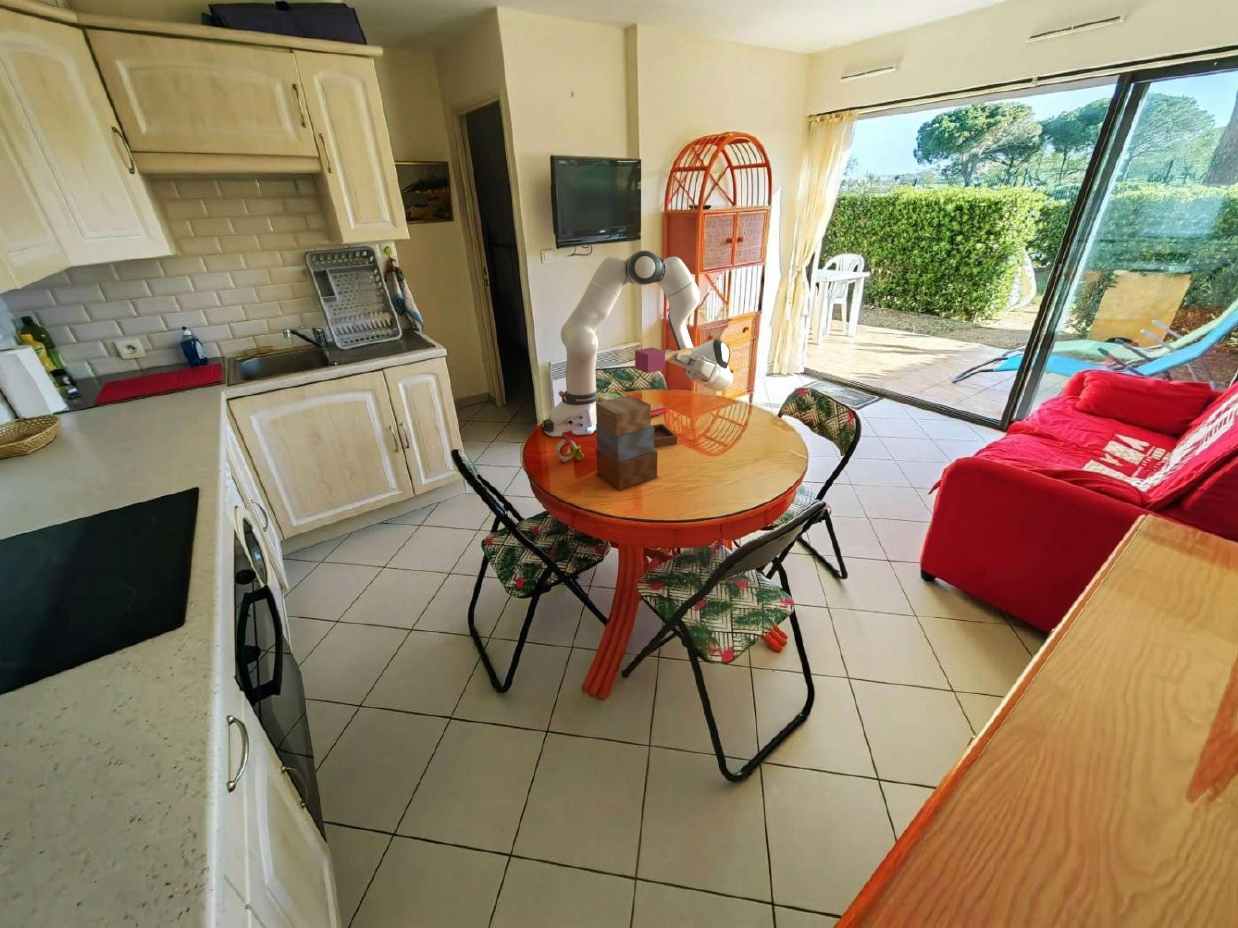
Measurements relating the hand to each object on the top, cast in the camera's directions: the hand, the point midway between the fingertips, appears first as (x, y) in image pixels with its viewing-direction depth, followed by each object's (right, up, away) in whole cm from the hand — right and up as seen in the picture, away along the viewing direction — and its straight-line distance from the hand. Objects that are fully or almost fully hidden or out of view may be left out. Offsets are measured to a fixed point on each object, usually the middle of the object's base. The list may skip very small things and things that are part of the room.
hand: (672, 354), depth 170 cm
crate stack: (-15, -40, -10) cm, 44 cm away
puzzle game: (-19, -13, +45) cm, 51 cm away
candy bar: (-5, -18, +36) cm, 40 cm away
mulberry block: (-2, -4, 0) cm, 4 cm away
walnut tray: (-7, -28, +14) cm, 32 cm away
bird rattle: (-34, -35, +1) cm, 49 cm away
